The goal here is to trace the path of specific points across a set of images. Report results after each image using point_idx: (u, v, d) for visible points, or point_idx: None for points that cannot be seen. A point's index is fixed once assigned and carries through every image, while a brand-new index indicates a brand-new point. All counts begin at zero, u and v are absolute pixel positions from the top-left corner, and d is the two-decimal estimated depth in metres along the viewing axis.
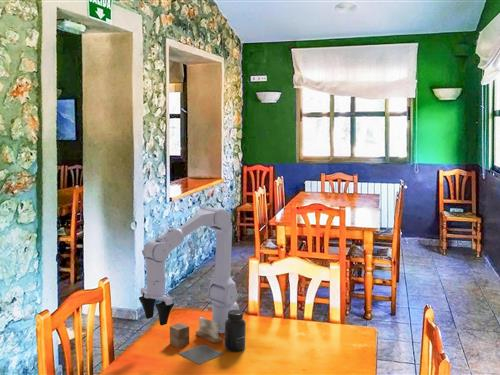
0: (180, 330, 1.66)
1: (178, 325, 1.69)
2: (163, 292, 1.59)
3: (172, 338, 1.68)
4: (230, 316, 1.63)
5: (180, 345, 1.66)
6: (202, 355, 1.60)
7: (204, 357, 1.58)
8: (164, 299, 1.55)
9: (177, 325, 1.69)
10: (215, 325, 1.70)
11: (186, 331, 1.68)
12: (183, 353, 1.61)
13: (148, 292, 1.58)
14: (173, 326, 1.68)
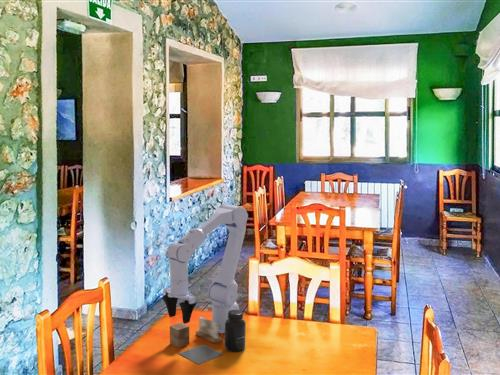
0: (180, 330, 1.66)
1: (178, 325, 1.69)
2: (186, 291, 1.66)
3: (172, 338, 1.68)
4: (230, 316, 1.63)
5: (180, 345, 1.66)
6: (202, 355, 1.60)
7: (204, 357, 1.58)
8: (187, 298, 1.62)
9: (177, 325, 1.69)
10: (215, 325, 1.70)
11: (186, 331, 1.68)
12: (183, 353, 1.61)
13: (172, 291, 1.65)
14: (173, 326, 1.68)
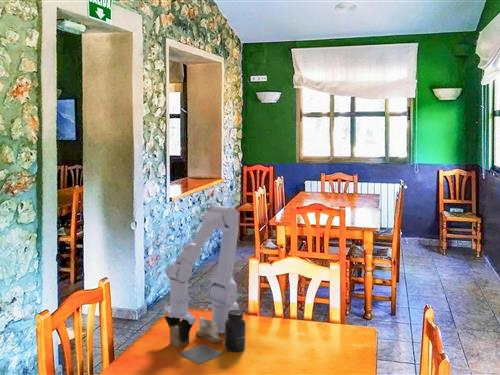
0: None
1: None
2: (186, 311, 1.66)
3: (172, 338, 1.68)
4: (230, 316, 1.63)
5: (180, 345, 1.66)
6: (202, 355, 1.60)
7: (204, 357, 1.58)
8: (188, 318, 1.63)
9: (177, 325, 1.69)
10: (215, 325, 1.70)
11: None
12: (183, 353, 1.61)
13: (172, 311, 1.66)
14: (173, 326, 1.68)
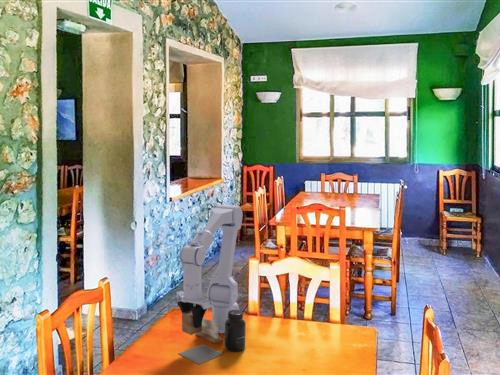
0: None
1: (190, 312, 1.63)
2: (200, 296, 1.61)
3: (184, 325, 1.62)
4: (230, 316, 1.63)
5: (193, 332, 1.60)
6: (202, 355, 1.60)
7: (204, 357, 1.58)
8: (201, 303, 1.57)
9: (189, 311, 1.63)
10: (215, 325, 1.70)
11: None
12: (183, 353, 1.61)
13: (185, 296, 1.60)
14: (185, 313, 1.62)
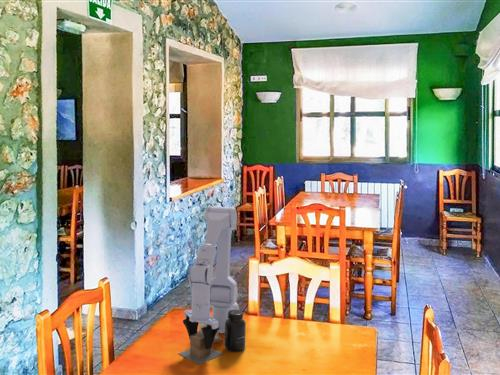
0: (202, 340, 1.58)
1: (199, 334, 1.61)
2: (208, 315, 1.58)
3: (192, 348, 1.60)
4: (230, 316, 1.63)
5: (201, 355, 1.58)
6: None
7: (204, 357, 1.58)
8: (210, 323, 1.55)
9: (197, 334, 1.61)
10: None
11: None
12: (183, 353, 1.61)
13: (193, 316, 1.58)
14: (194, 335, 1.60)
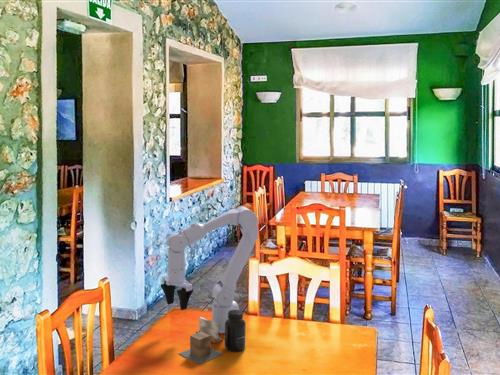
0: (202, 340, 1.58)
1: (199, 334, 1.61)
2: (183, 280, 1.75)
3: (192, 348, 1.60)
4: (230, 316, 1.63)
5: (201, 355, 1.58)
6: None
7: (204, 357, 1.58)
8: (185, 286, 1.71)
9: (197, 334, 1.61)
10: (215, 325, 1.70)
11: (207, 341, 1.60)
12: (183, 353, 1.61)
13: (170, 279, 1.74)
14: (194, 335, 1.60)
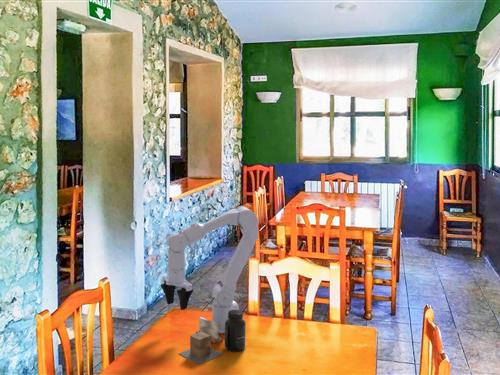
0: (202, 340, 1.58)
1: (199, 334, 1.61)
2: (183, 279, 1.75)
3: (192, 348, 1.60)
4: (230, 316, 1.63)
5: (201, 355, 1.58)
6: None
7: (204, 357, 1.58)
8: (184, 286, 1.71)
9: (197, 334, 1.61)
10: (215, 325, 1.70)
11: (207, 341, 1.60)
12: (183, 353, 1.61)
13: (170, 279, 1.74)
14: (194, 335, 1.60)
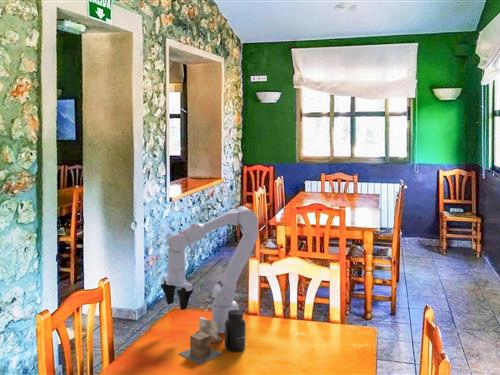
0: (202, 340, 1.58)
1: (199, 334, 1.61)
2: (183, 279, 1.75)
3: (192, 348, 1.60)
4: (230, 316, 1.63)
5: (201, 355, 1.58)
6: None
7: (204, 357, 1.58)
8: (184, 286, 1.71)
9: (197, 334, 1.61)
10: (215, 325, 1.70)
11: (207, 341, 1.60)
12: (183, 353, 1.61)
13: (170, 279, 1.74)
14: (194, 335, 1.60)
